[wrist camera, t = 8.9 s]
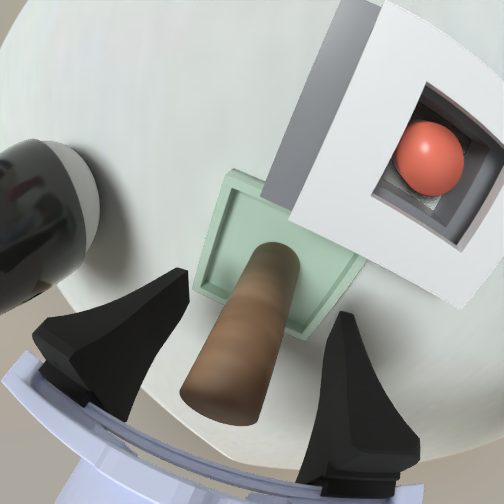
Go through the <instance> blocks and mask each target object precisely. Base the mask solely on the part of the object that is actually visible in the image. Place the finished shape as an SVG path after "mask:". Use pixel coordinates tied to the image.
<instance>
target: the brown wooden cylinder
mask: <svg viewBox="0 0 504 504" xmlns="http://www.w3.org/2000/svg"><path fill="white" fill-rule="evenodd" d="M299 270H300V261H299V258H298V256H297V254H296V253H295V252H294V251H293V250H292V249H291V248H290V247H288V246H287V245H285V244H282V243H279V242H267V243H263V244H261V245H259V246H258V247H257V248H256V249H255V250H254V251H253V253H252V255H251V257H250V259H249V261H248V263H247V265H246V267H245V268H244V270H243V272H242V274H241V276H240V278H239V280H238V282H237V283H236V285H235V287H234V289H233V291H232V293H231V295H230V297H229V299H228V300H227V302H226V304H225V306H224V308H223V310H222V312H221V314H220V315H219V317H218V319H217V321H216V323H215V325H214V327H213V329H212V331H211V332H210V334H209V336H208V338H207V340H206V342H205V344H204V346H203V347H202V349H201V351H200V353H199V355H198V357H197V359H196V361H195V363H194V364H193V366H192V368H191V370H190V372H189V374H188V376H187V378H186V379H185V381H184V383H183V385H182V387H181V389H180V396H181V398H182V400H183V401H184V402H185V403H186V404H187V405H188V406H189V407H191V408H192V409H193V410H195V411H196V412H198V413H199V414H201V415H203V416H205V417H207V418H209V419H212V420H214V421H217V422H220V423H224V424H228V425H234V426H249V425H253V424H255V423H256V422H257V421H258V418H259V415H260V412H261V409H262V406H263V403H264V399H265V396H266V393H267V389H268V386H269V383H270V379H271V376H272V373H273V369H274V366H275V362H276V359H277V355H278V352H279V348H280V344H281V341H282V337H283V333H284V330H285V326H286V322H287V318H288V315H289V311H290V307H291V303H292V299H293V295H294V291H295V287H296V283H297V278H298V274H299Z"/></svg>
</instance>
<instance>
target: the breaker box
mask: <svg viewBox="0 0 504 504" xmlns="http://www.w3.org/2000/svg"><path fill="white" fill-rule="evenodd" d="M418 101H419V102H421V103H423V104H424V105H426V106H427V107H429V108H430V109H431V110H433V111H434V112H436V113H437V114H439V115H440V116H441V117H443V118H444V119H446V120H447V121H448V122H450V123H451V124H452V125H453V126H455V127H456V128H457V129H459V130H460V131H461V132H462V133H464V134H465V135H466V136H467V137H468V138H470V139H471V140H472V141H471V143H470V145H469V147H468V149H467V151H466V153H465V155H464V166H463V171H462V175H461V177H460V179H459V181H458V182H457V184H456V185H455V186H454V187H453V188H452V189H451V190H450V191H448V192H447V193H445V194H443V196H442V198H441V199H440V201H439V203H438V204H437V206H436V208H435V209H434V211H433V210H431V209H430V208H428V207H427V206H425V205H424V204H422V203H421V202H419V201H418V200H416V199H415V198H413V197H412V196H410V195H408V194H407V193H405V192H403V191H402V190H400V189H399V188H397V187H395V186H394V185H392V184H390V183H388V182H387V181H385V180H383V179H382V178H380V177H381V176H382V174H383V172H384V170H385V168H386V166H387V164H388V162H389V160H390V158H391V156H392V154H393V153H394V151H395V149H396V147H397V145H398V143H399V141H400V138H401V136H402V134H403V132H404V130H405V128H406V126H407V124H408V122H409V120H410V118H411V115H412V113H413V111H414V109H415V107H416V104H417V102H418ZM260 197H262V198H264V199H266V200H268V201H271V202H273V203H275V204H277V205H279V206H282V207H284V208H286V209H288V210H290V211H291V213H290V216H289V218H288V220H289V221H291V222H293V223H295V224H297V225H300V226H302V227H304V228H306V229H308V230H310V231H312V232H314V233H316V234H318V235H320V236H323V237H325V238H327V239H329V240H331V241H333V242H335V243H337V244H339V245H341V246H343V247H345V248H347V249H349V250H351V251H353V252H355V253H357V254H359V255H361V256H363V257H365V258H367V259H369V260H370V261H372V262H374V263H376V264H378V265H380V266H382V267H384V268H386V269H388V270H390V271H391V272H393V273H395V274H397V275H399V276H401V277H403V278H405V279H406V280H408V281H410V282H412V283H414V284H416V285H417V286H419V287H421V288H423V289H425V290H426V291H428V292H430V293H432V294H434V295H435V296H437V297H439V298H441V299H442V300H444V301H446V302H448V303H449V304H451V305H453V306H454V307H456V308H458V309H460V310H461V309H462V308H463V306H464V305H465V304H466V303H467V302H468V301H469V300H470V298H471V297H472V296H473V295H474V294H475V293H476V291H477V290H478V289H479V288H480V287H481V285H482V284H483V283H484V282H485V280H486V279H487V278H488V276H489V275H490V274H491V273H492V271H493V270H494V269H495V267H496V266H497V264H498V263H499V262H500V260H501V259H502V257H503V256H504V81H503V80H502V79H501V78H500V77H499V76H498V75H497V74H495V73H494V72H493V71H492V70H491V69H490V68H489V67H488V66H487V65H485V64H484V63H483V62H482V61H481V60H480V59H478V58H477V57H476V56H475V55H474V54H472V53H471V52H470V51H469V50H467V49H466V48H465V47H463V46H462V45H461V44H459V43H458V42H457V41H455V40H454V39H452V38H451V37H450V36H448V35H447V34H445V33H444V32H442V31H441V30H439V29H438V28H436V27H435V26H433V25H431V24H430V23H428V22H427V21H425V20H423V19H422V18H420V17H418V16H416V15H415V14H413V13H411V12H409V11H407V10H406V9H404V8H402V7H400V6H398V5H396V4H394V3H392V2H390V1H388V0H385V1H384V3H383V5H382V7H379V6H377V5H375V4H373V3H370V2H368V1H366V0H341V1H340V4H339V6H338V8H337V10H336V13H335V15H334V17H333V20H332V22H331V24H330V27H329V29H328V31H327V34H326V36H325V38H324V41H323V43H322V45H321V48H320V50H319V52H318V55H317V57H316V60H315V62H314V64H313V67H312V69H311V71H310V74H309V76H308V79H307V81H306V83H305V86H304V88H303V91H302V93H301V95H300V98H299V100H298V103H297V105H296V108H295V110H294V112H293V115H292V117H291V120H290V122H289V125H288V127H287V130H286V132H285V134H284V137H283V139H282V142H281V144H280V147H279V149H278V152H277V154H276V157H275V159H274V162H273V164H272V167H271V169H270V172H269V174H268V177H267V179H266V182H265V184H264V187H263V189H262V192H261V194H260Z"/></svg>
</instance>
